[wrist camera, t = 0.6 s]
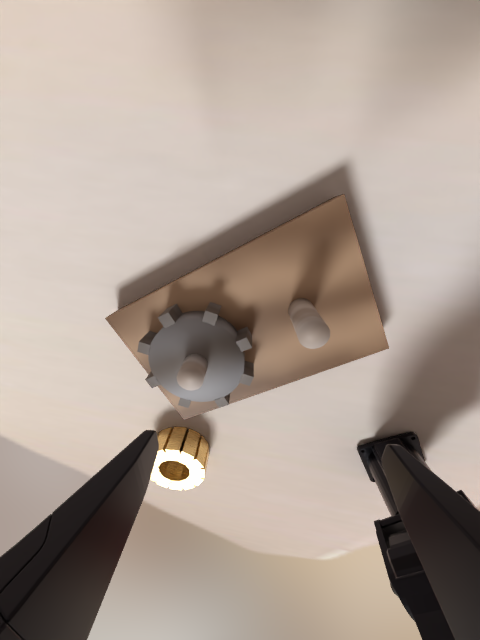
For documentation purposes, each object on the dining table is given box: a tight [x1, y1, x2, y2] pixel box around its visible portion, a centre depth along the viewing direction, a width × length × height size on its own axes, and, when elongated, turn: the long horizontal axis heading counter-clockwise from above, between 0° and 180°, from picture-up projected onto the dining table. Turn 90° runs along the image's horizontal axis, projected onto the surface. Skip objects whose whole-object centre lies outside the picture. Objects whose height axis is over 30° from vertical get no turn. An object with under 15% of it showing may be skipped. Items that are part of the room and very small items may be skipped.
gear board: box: [105, 194, 389, 420], centre depth 18 cm, size 13×21×6 cm, turn 117°
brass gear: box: [150, 427, 209, 490], centre depth 27 cm, size 7×7×3 cm
